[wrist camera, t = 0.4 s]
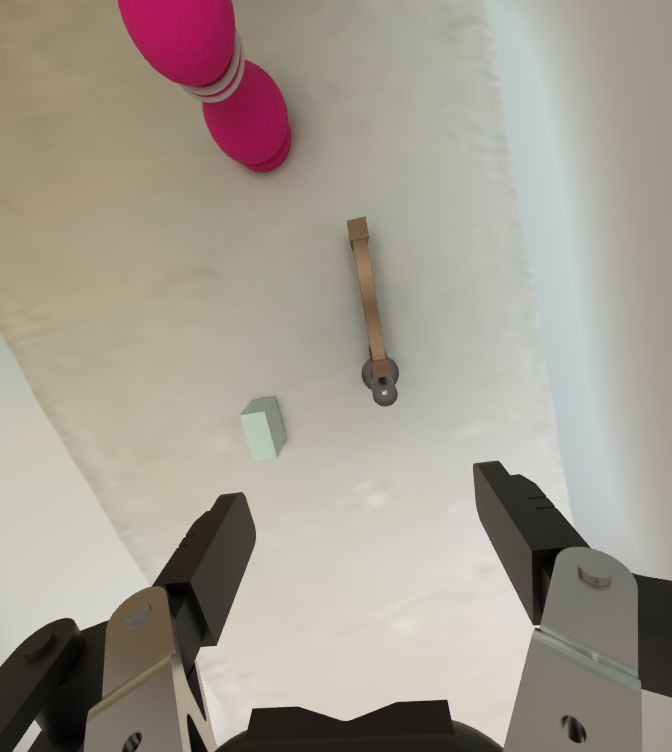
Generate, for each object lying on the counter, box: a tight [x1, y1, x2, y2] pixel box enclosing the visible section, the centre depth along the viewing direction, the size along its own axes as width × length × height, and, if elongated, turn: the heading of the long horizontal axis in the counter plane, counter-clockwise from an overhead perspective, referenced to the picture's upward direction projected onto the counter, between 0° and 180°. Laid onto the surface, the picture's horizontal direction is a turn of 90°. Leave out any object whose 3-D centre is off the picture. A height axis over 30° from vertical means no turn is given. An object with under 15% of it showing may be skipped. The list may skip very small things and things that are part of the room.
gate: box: [347, 217, 391, 378], centre depth 33 cm, size 14×2×8 cm, turn 11°
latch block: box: [239, 397, 286, 462], centre depth 40 cm, size 6×3×5 cm, turn 11°
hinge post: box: [362, 357, 399, 406], centre depth 35 cm, size 4×4×8 cm
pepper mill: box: [118, 0, 291, 172], centre depth 24 cm, size 7×7×20 cm
